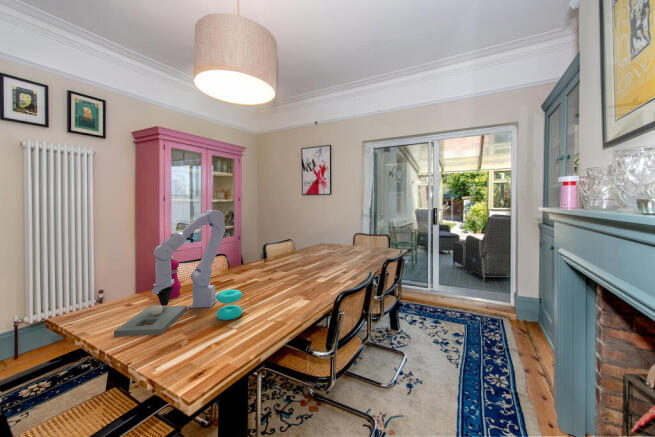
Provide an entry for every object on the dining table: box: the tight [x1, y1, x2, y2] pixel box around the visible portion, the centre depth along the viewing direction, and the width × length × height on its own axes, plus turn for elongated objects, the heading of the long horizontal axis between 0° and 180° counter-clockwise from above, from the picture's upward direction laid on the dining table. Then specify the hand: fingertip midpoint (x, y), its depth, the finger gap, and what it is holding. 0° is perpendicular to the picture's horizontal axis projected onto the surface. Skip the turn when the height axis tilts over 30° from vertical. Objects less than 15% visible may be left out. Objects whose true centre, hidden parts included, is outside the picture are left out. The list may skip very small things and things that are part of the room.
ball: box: [151, 304, 163, 315], centre depth 110 cm, size 4×4×4 cm
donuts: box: [216, 288, 243, 321], centre depth 114 cm, size 10×10×10 cm
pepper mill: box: [169, 256, 182, 299], centre depth 137 cm, size 7×7×20 cm
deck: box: [113, 305, 188, 337], centre depth 108 cm, size 16×22×2 cm
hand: (164, 305), depth 117 cm, fingers closed
